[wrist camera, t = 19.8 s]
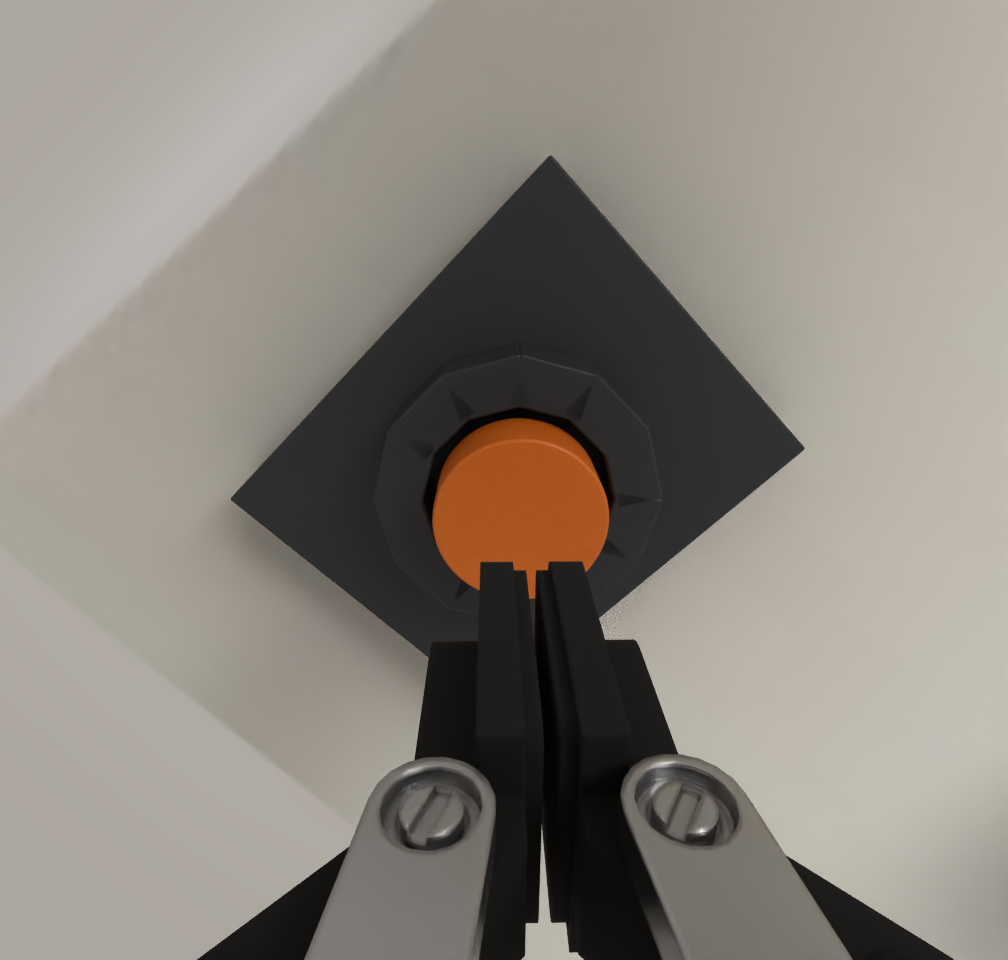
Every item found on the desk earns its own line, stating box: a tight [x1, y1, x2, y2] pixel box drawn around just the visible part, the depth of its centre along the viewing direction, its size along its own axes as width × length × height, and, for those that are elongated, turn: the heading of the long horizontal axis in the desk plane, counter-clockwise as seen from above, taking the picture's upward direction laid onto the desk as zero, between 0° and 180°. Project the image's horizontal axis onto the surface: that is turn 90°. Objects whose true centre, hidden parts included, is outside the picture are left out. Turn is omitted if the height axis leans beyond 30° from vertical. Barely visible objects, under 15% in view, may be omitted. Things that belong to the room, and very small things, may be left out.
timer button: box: [432, 418, 609, 599], centre depth 15 cm, size 4×4×2 cm
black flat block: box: [231, 156, 804, 657], centre depth 18 cm, size 10×12×4 cm
